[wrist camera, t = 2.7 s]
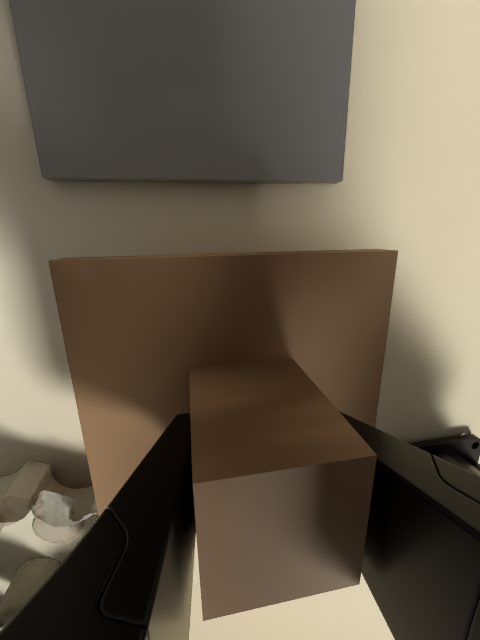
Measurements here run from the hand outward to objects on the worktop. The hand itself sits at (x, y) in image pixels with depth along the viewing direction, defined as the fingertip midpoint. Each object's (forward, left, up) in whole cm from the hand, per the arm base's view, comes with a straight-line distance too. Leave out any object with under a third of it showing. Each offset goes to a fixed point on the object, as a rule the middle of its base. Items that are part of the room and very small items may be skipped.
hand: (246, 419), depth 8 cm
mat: (0, -12, -6) cm, 13 cm away
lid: (0, 0, -2) cm, 2 cm away
